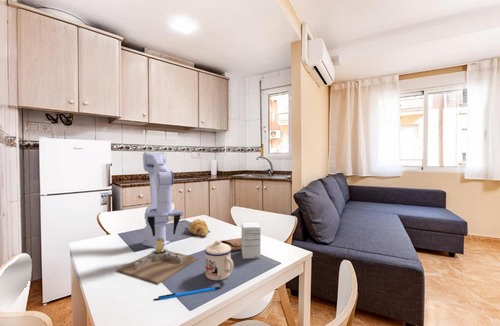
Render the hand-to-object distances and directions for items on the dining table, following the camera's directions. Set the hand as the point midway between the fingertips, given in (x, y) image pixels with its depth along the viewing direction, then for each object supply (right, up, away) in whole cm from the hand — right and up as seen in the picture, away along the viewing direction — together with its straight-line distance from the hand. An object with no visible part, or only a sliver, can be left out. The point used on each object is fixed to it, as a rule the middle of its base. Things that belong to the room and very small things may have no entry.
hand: (164, 234), depth 93 cm
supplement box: (+35, -9, +2) cm, 36 cm away
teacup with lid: (+25, -10, -15) cm, 31 cm away
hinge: (+1, -8, -7) cm, 11 cm away
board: (+1, -9, -7) cm, 12 cm away
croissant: (+6, -9, +31) cm, 33 cm away
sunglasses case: (+28, -10, +9) cm, 31 cm away
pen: (+17, -10, -26) cm, 32 cm away
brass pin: (-1, -8, -2) cm, 9 cm away
